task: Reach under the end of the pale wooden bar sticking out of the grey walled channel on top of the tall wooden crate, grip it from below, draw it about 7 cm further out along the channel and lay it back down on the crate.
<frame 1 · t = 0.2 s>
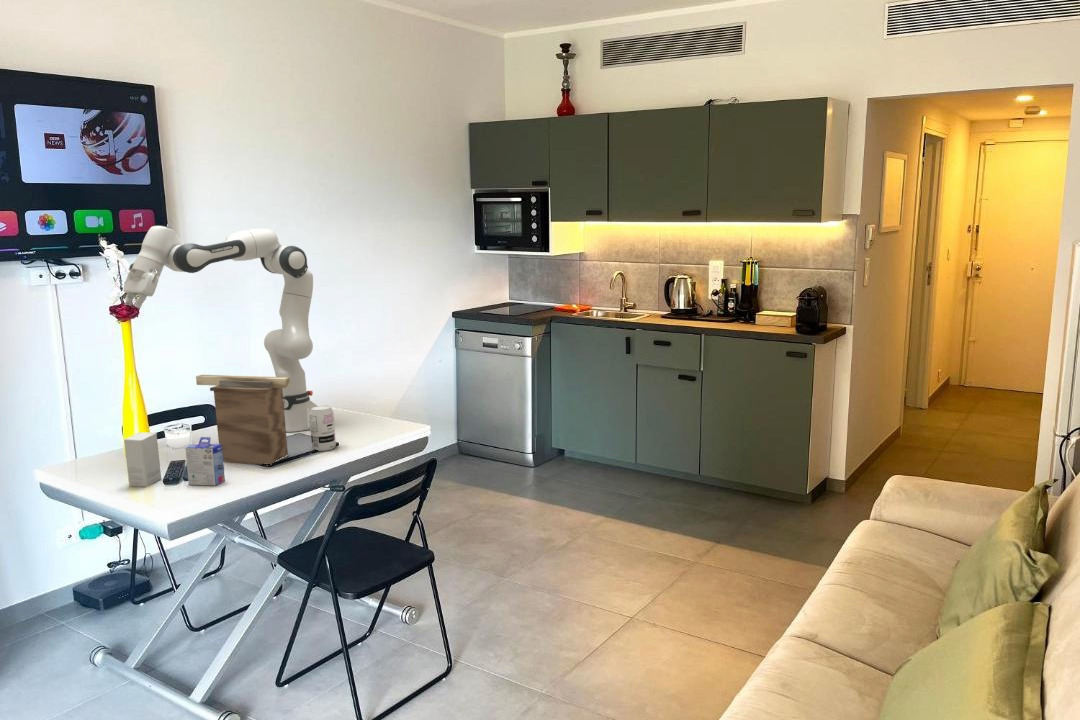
hand: (132, 306, 284), 54 cm above the table, tool tilted 25°, fingers open, 8 cm apart
ink cartridge box: (207, 483, 264), on the table
wooden bar: (242, 385, 285), point 26 cm above the table, touching tall wooden crate
tall wooden crate: (254, 459, 289), on the table
supplement can: (324, 449, 300), on the table
skincare box: (146, 483, 266), on the table
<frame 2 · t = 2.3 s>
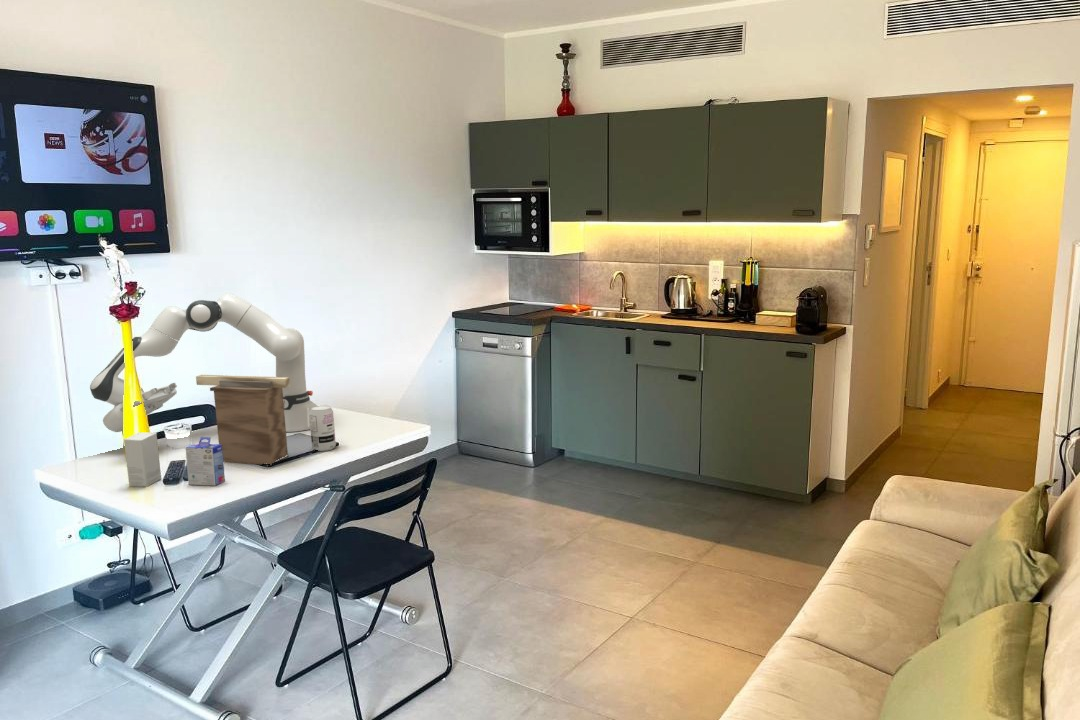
hand: (165, 387, 294), 24 cm above the table, tool pointing upward, fingers open, 8 cm apart
nothing on the table moved.
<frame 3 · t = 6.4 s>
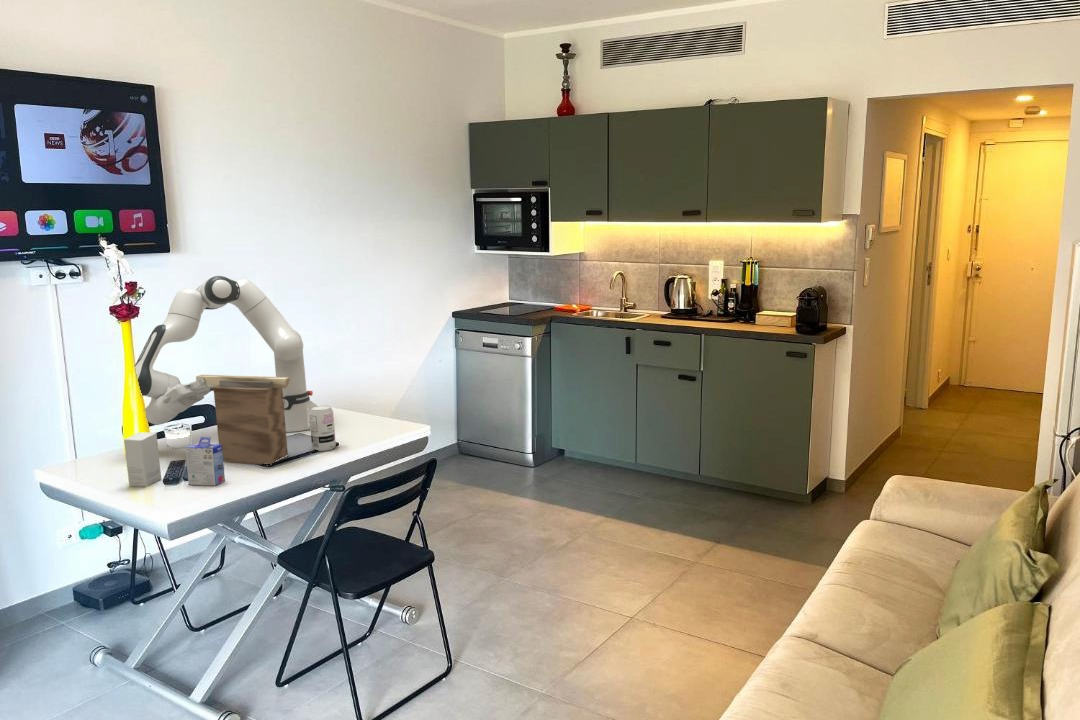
hand: (208, 378, 289), 28 cm above the table, tool pointing upward, fingers closed on wooden bar, 3 cm apart
wooden bar: (242, 385, 285), point 26 cm above the table, touching gripper, tall wooden crate
everything else where it was.
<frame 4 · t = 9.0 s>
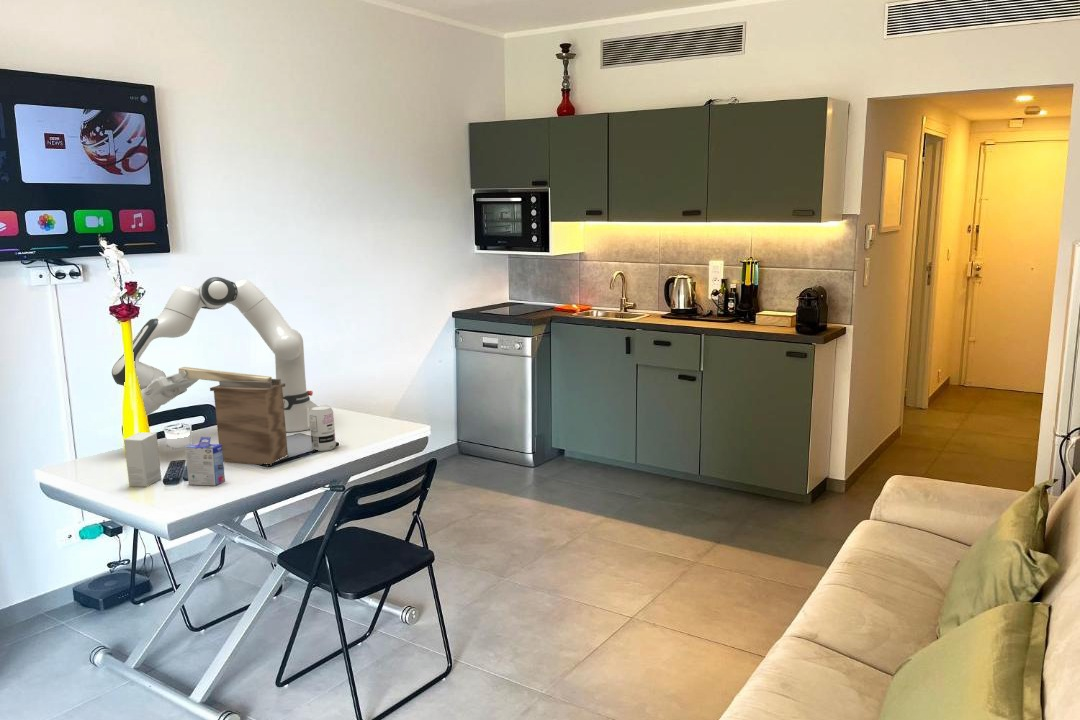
hand: (190, 371, 290), 31 cm above the table, tool pointing upward, fingers closed on wooden bar, 3 cm apart
wooden bar: (224, 381, 287), point 27 cm above the table, touching gripper, tall wooden crate
everything else where it was.
when the fingers open (28 cm above the table, at t = 9.8 s): wooden bar stays where it is, resting on tall wooden crate.
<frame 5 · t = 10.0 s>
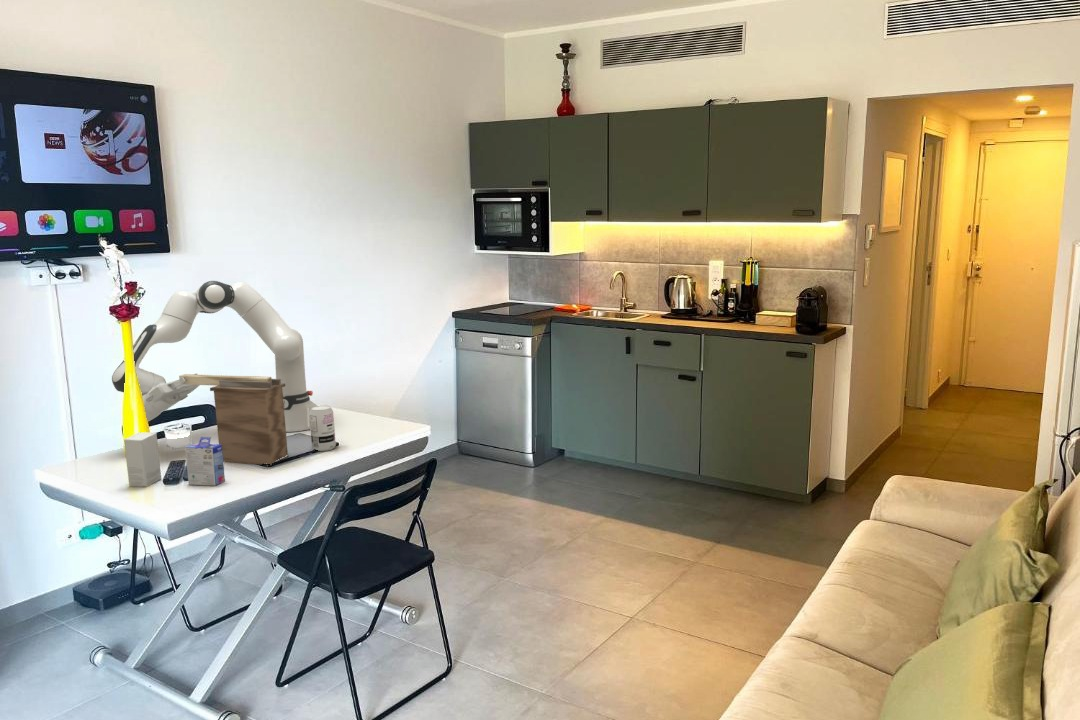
hand: (191, 377, 291), 28 cm above the table, tool pointing upward, fingers open, 5 cm apart
wooden bar: (225, 384, 287), point 26 cm above the table, touching tall wooden crate
everything else where it was.
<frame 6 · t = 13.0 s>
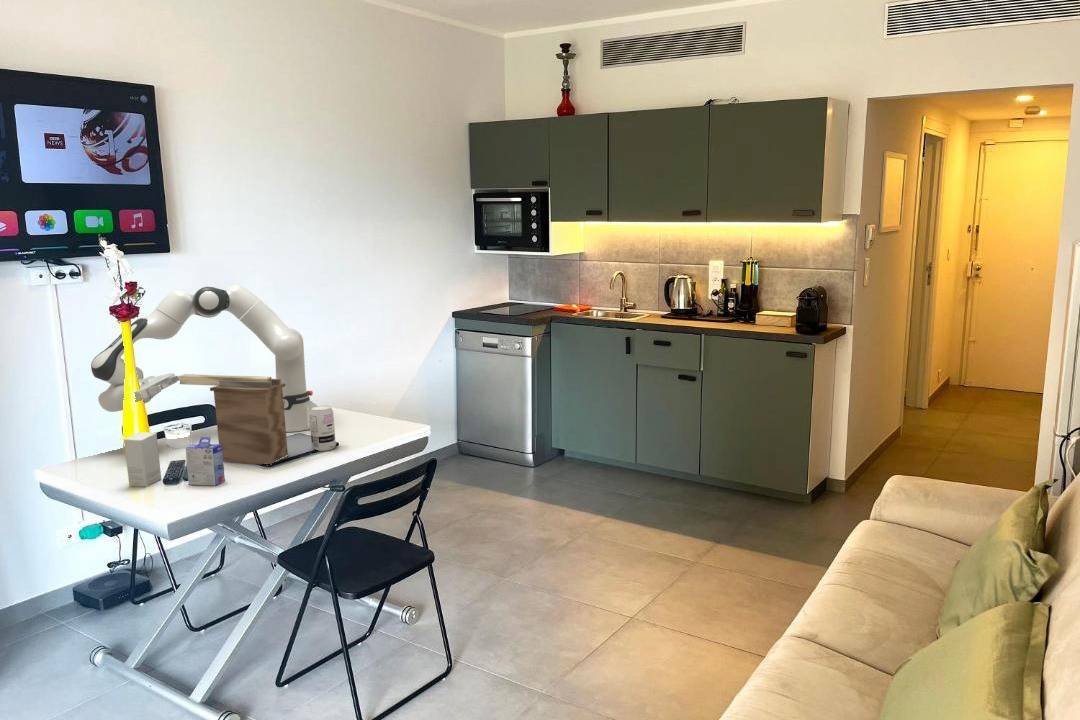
hand: (169, 382, 293), 26 cm above the table, tool pointing upward, fingers open, 8 cm apart
nothing on the table moved.
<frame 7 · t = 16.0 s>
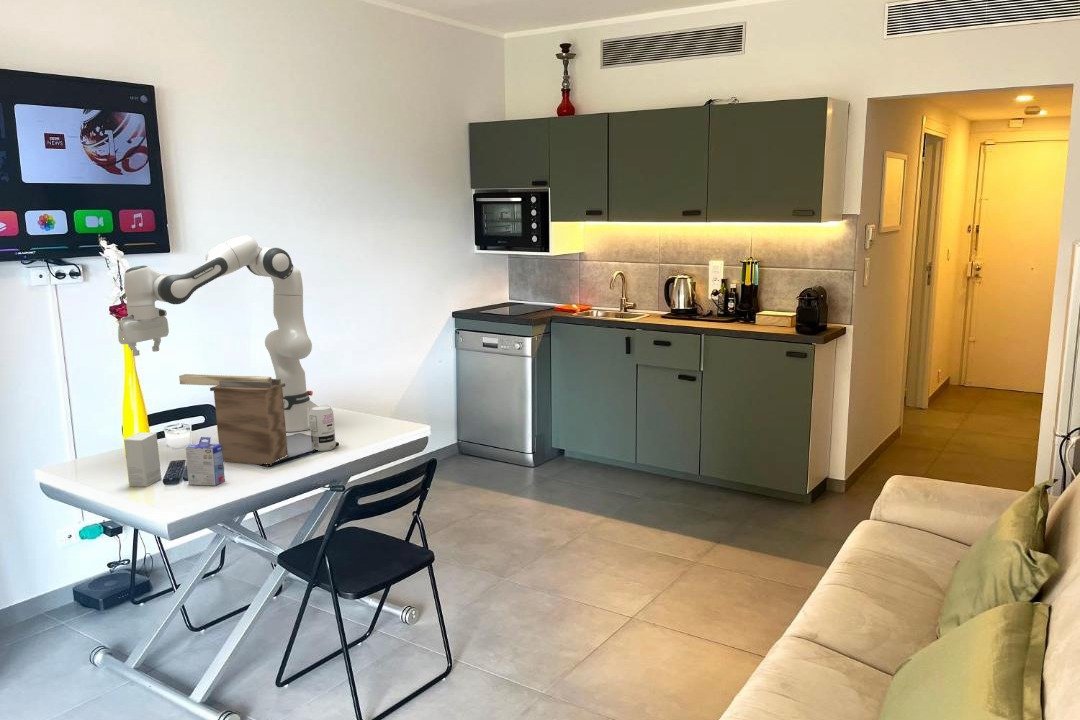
hand: (146, 353, 289), 37 cm above the table, tool pointing down, fingers open, 8 cm apart
nothing on the table moved.
at the end: wooden bar inside the target area (0.1 cm from its centre), point 26.0 cm above the table; wooden bar tilted 0°; the gripper is holding nothing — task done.
